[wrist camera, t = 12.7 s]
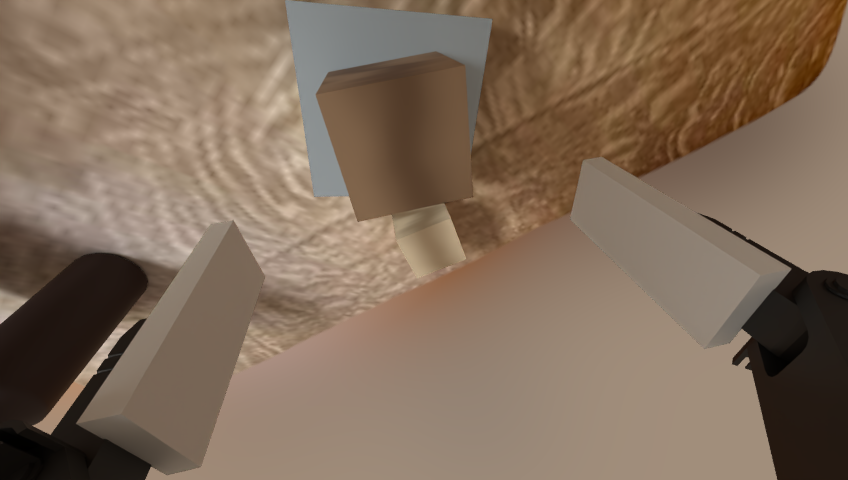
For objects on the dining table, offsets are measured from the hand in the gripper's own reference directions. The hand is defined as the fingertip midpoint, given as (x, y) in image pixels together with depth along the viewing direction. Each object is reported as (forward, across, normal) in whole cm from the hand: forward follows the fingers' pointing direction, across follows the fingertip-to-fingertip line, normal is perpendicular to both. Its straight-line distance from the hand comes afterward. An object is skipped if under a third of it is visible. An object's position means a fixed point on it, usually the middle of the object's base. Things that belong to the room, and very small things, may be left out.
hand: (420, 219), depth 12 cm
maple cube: (+22, +3, -14) cm, 26 cm away
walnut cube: (+16, 0, 0) cm, 16 cm away
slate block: (+22, 0, 0) cm, 22 cm away
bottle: (+22, -33, -14) cm, 43 cm away
